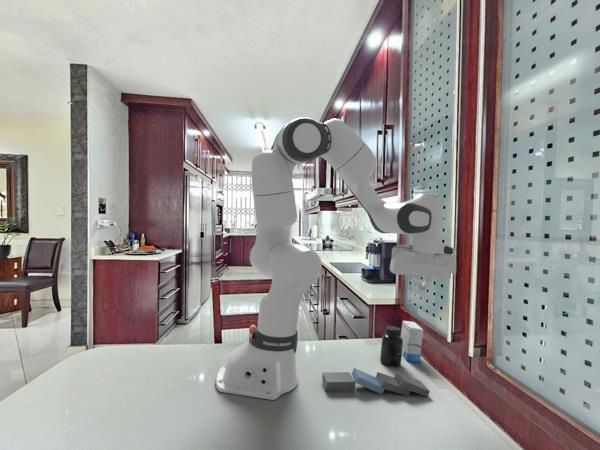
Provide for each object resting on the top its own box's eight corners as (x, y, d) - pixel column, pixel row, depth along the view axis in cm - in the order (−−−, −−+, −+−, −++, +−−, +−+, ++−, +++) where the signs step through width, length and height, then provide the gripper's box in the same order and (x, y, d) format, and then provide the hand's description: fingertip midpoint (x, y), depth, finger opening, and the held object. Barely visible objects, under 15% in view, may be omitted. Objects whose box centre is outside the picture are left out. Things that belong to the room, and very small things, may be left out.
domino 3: (381, 394, 80) (355, 382, 79) (376, 384, 85) (351, 373, 84) (384, 388, 80) (358, 376, 79) (378, 378, 85) (354, 367, 84)
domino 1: (354, 388, 80) (326, 388, 78) (348, 378, 84) (322, 378, 83) (355, 381, 80) (327, 382, 78) (349, 372, 84) (322, 372, 83)
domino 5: (427, 397, 80) (402, 387, 80) (418, 386, 85) (394, 377, 85) (429, 391, 80) (404, 381, 80) (420, 381, 85) (396, 371, 85)
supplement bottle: (402, 369, 95) (405, 333, 95) (380, 365, 97) (384, 329, 97) (399, 360, 102) (402, 326, 102) (379, 356, 103) (382, 323, 103)
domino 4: (408, 396, 80) (381, 387, 79) (400, 385, 85) (375, 377, 84) (410, 390, 80) (384, 381, 79) (402, 380, 85) (377, 371, 84)
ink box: (421, 362, 102) (424, 329, 101) (406, 361, 102) (409, 327, 102) (412, 352, 110) (414, 321, 110) (398, 350, 110) (401, 319, 110)
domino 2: (353, 395, 79) (324, 394, 79) (349, 385, 84) (322, 383, 84) (354, 388, 79) (325, 387, 79) (349, 378, 84) (322, 377, 84)
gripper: (396, 244, 87) (392, 290, 87) (461, 250, 89) (457, 295, 89) (388, 242, 94) (384, 285, 94) (449, 248, 95) (445, 290, 95)
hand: (420, 290), depth 91 cm, fingers closed
